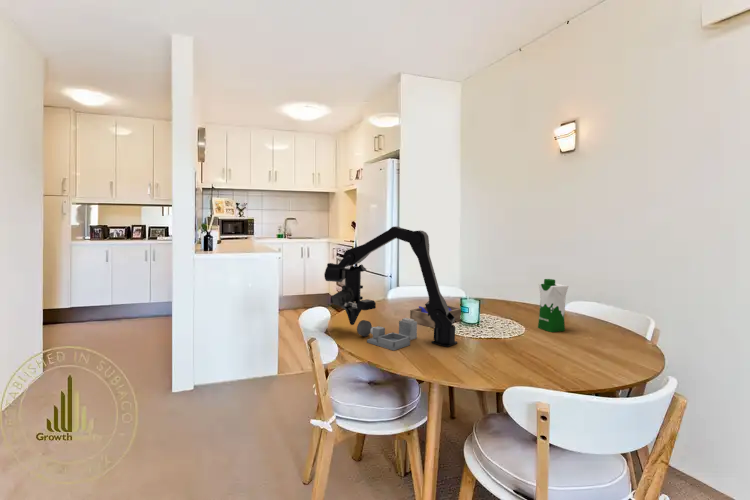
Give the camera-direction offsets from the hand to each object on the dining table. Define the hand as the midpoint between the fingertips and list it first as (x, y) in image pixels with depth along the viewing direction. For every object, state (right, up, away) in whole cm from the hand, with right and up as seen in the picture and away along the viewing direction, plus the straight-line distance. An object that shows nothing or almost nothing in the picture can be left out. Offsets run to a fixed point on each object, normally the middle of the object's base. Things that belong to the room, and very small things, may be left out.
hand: (352, 324), depth 149 cm
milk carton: (+78, -4, +11) cm, 79 cm away
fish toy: (+34, -2, +21) cm, 40 cm away
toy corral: (+34, -2, +21) cm, 40 cm away
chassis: (+13, -4, -12) cm, 18 cm away
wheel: (+5, -4, -4) cm, 7 cm away
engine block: (+20, -4, -4) cm, 21 cm away
